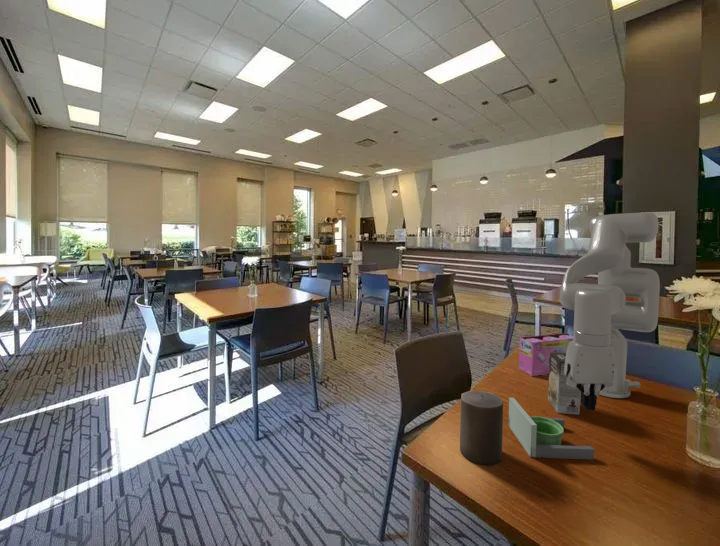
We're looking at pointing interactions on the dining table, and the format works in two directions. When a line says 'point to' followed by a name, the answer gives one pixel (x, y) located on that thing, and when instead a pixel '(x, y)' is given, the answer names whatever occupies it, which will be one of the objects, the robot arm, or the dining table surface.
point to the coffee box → (561, 387)
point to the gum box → (541, 352)
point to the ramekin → (547, 431)
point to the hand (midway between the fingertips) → (588, 407)
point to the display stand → (527, 437)
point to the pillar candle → (481, 427)
